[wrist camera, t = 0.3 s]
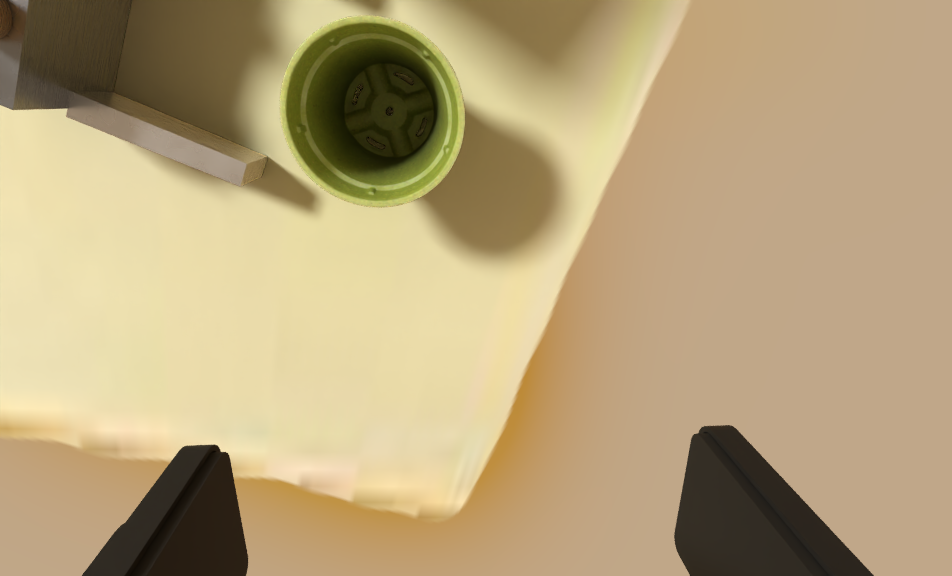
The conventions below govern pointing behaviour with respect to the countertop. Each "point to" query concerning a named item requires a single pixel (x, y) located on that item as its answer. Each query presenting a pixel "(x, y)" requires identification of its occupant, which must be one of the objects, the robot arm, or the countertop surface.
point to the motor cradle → (100, 83)
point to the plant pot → (372, 111)
